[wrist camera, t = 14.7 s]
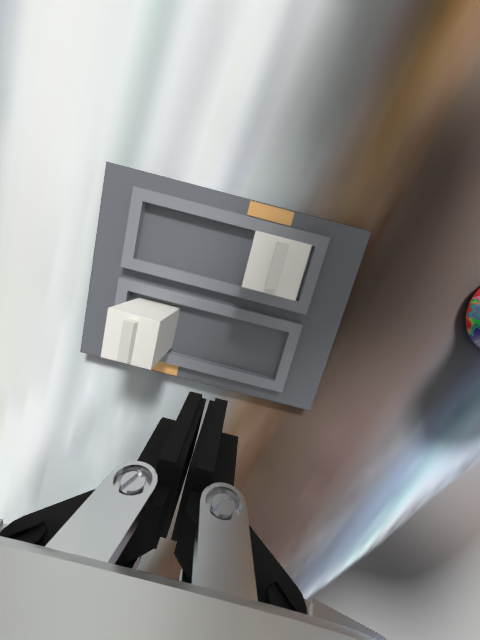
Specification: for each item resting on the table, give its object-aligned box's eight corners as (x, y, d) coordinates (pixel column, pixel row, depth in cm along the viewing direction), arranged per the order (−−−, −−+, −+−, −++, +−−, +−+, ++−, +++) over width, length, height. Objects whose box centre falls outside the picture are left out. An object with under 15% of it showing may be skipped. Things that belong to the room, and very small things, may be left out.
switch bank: (114, 167, 26) (101, 158, 23) (364, 233, 26) (375, 230, 24) (88, 347, 30) (75, 354, 27) (307, 403, 30) (311, 414, 28)
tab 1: (139, 297, 27) (102, 309, 20) (180, 307, 27) (156, 323, 20) (132, 336, 27) (94, 360, 21) (172, 346, 27) (146, 373, 21)
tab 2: (255, 237, 25) (256, 229, 18) (297, 248, 25) (314, 244, 18) (243, 280, 26) (241, 287, 19) (285, 291, 26) (296, 302, 19)
